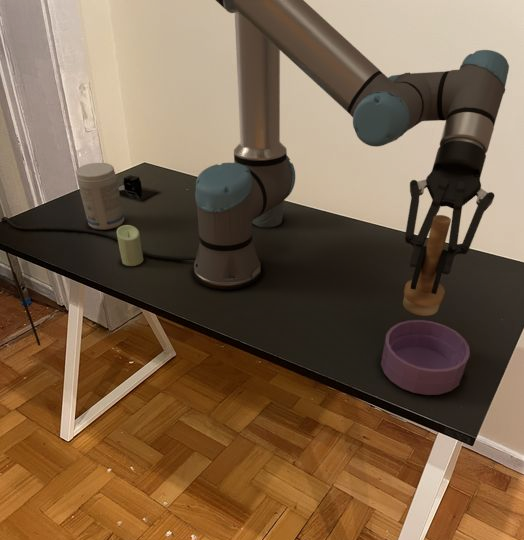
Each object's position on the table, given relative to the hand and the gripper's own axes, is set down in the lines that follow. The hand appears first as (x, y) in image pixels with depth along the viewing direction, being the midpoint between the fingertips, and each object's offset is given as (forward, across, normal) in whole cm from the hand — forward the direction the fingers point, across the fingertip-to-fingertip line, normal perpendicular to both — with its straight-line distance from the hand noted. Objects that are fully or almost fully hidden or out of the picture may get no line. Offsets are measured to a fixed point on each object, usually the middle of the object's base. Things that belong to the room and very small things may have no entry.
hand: (423, 289), depth 83 cm
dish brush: (+1, 0, -7) cm, 7 cm away
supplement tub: (-7, +85, -33) cm, 91 cm away
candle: (+3, +67, -23) cm, 71 cm away
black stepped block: (-21, +90, -47) cm, 104 cm away
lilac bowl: (+11, -3, -14) cm, 18 cm away
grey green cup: (-20, +46, -46) cm, 69 cm away
